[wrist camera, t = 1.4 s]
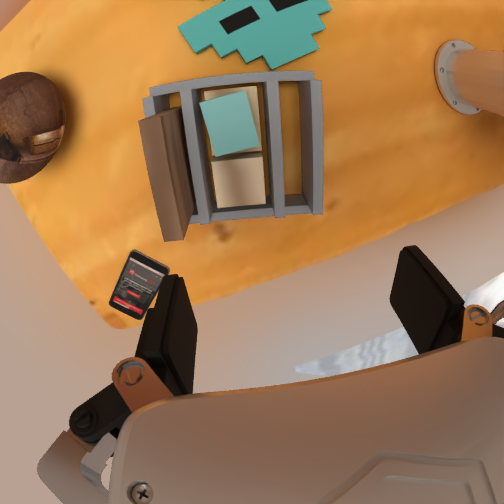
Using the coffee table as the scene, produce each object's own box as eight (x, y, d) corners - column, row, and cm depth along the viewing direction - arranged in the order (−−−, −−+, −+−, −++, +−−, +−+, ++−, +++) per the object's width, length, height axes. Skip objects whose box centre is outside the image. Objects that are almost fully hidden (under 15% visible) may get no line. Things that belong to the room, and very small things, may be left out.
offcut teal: (245, 90, 29) (245, 90, 27) (258, 140, 33) (259, 145, 30) (202, 101, 30) (199, 102, 27) (217, 151, 33) (215, 156, 31)
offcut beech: (260, 148, 37) (262, 157, 33) (262, 189, 40) (265, 203, 36) (214, 152, 37) (211, 162, 33) (220, 193, 40) (217, 208, 36)
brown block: (188, 104, 33) (160, 116, 21) (200, 189, 40) (183, 239, 28) (173, 107, 33) (138, 121, 21) (187, 190, 40) (164, 241, 28)
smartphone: (107, 304, 51) (131, 249, 44) (109, 302, 51) (133, 246, 45) (140, 321, 53) (171, 269, 46) (141, 318, 54) (171, 267, 47)
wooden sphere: (3, 127, 31) (-59, 156, 18) (46, 52, 26) (-24, 55, 13) (52, 181, 37) (-5, 225, 24) (103, 107, 32) (39, 126, 20)
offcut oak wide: (254, 86, 33) (256, 85, 29) (259, 144, 37) (262, 150, 33) (207, 91, 33) (203, 91, 29) (214, 148, 37) (212, 155, 34)
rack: (306, 72, 31) (320, 69, 25) (310, 201, 41) (322, 223, 35) (158, 87, 32) (140, 88, 26) (179, 212, 41) (169, 236, 36)
